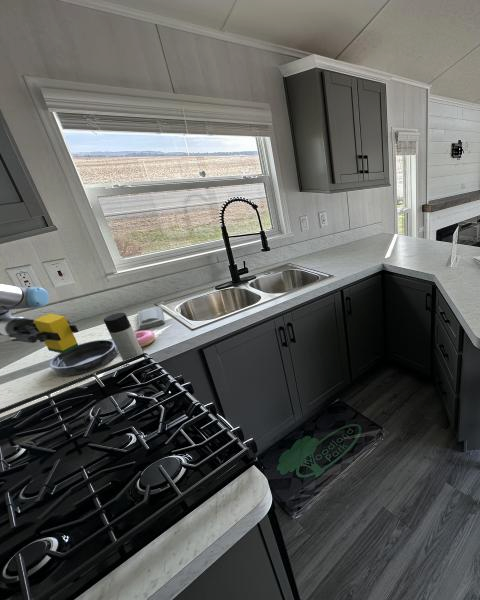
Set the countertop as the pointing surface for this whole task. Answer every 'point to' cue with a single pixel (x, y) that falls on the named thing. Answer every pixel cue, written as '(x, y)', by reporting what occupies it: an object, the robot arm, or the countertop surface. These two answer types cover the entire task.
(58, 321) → the sponge
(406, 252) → the countertop surface
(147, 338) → the doughnut
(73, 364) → the bowl
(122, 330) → the spray can
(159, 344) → the countertop surface
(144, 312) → the soap mold
